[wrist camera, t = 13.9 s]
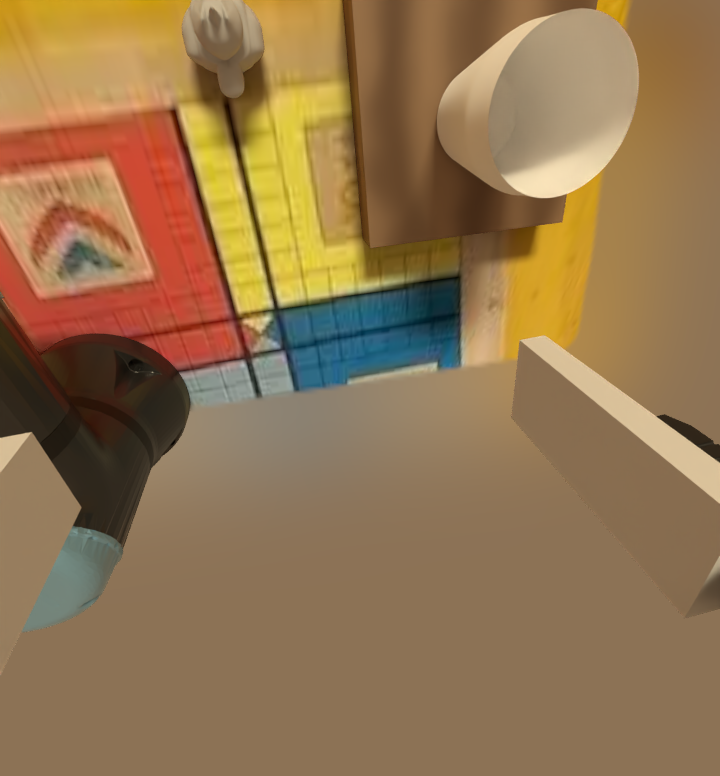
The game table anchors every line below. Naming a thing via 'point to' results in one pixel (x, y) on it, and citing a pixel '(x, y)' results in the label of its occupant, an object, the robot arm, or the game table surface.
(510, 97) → the cup
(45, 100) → the game table surface
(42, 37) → the game table surface
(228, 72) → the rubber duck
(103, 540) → the robot arm
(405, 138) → the walnut base
